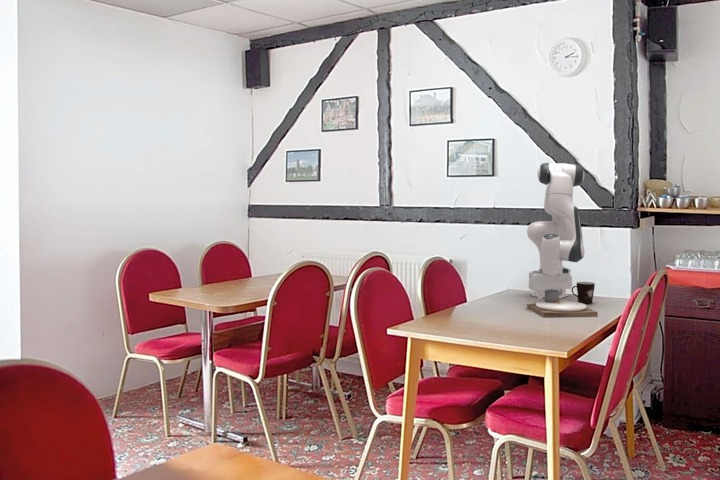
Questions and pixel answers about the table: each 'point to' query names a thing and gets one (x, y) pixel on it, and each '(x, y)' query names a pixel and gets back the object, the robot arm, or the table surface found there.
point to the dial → (558, 303)
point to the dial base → (562, 312)
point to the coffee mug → (585, 292)
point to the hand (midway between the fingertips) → (550, 298)
